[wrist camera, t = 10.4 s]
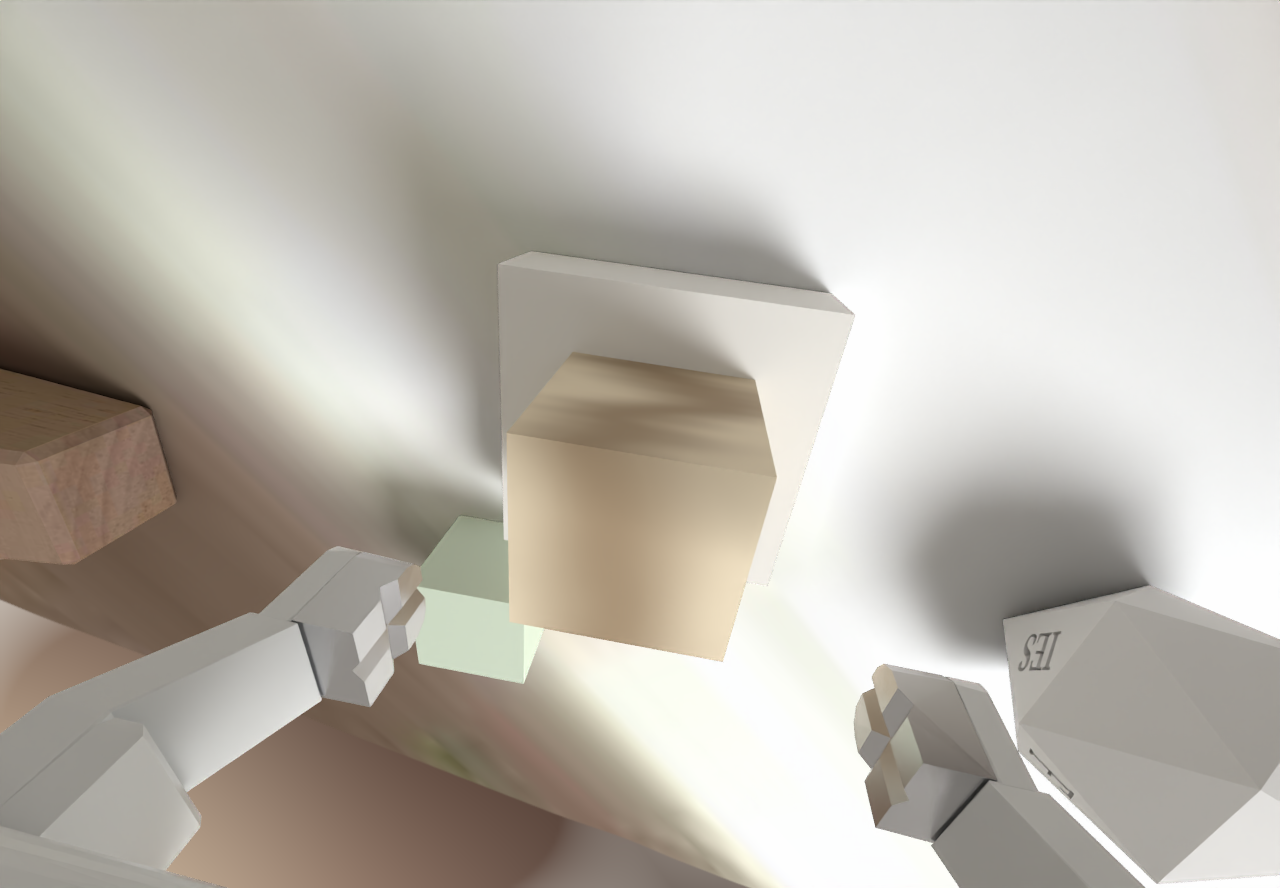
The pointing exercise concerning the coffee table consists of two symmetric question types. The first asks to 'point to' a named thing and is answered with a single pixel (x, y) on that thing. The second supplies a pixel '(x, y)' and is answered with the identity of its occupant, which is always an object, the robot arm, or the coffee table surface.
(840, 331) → the foundation slab
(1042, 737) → the die
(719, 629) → the beech cube
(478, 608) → the sage cube
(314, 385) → the coffee table surface
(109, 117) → the coffee table surface
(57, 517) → the decorative block
